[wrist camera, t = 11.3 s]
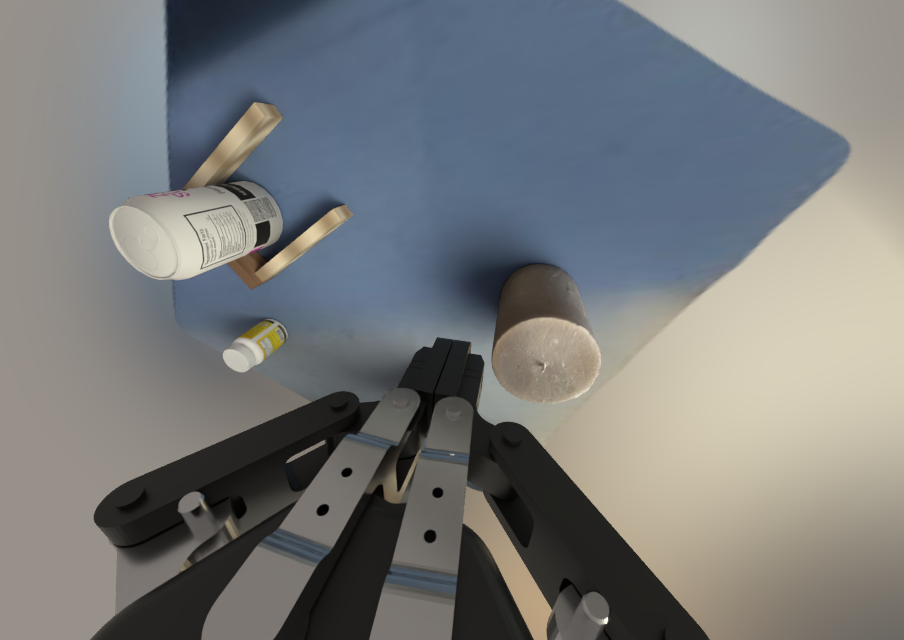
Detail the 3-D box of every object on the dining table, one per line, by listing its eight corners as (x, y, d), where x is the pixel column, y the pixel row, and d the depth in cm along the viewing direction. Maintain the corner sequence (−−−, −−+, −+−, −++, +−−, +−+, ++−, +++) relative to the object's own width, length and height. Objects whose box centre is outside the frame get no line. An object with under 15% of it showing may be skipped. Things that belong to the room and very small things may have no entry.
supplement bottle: (257, 330, 53) (215, 360, 46) (267, 312, 51) (224, 340, 44) (282, 348, 54) (245, 380, 47) (293, 330, 52) (255, 361, 45)
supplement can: (267, 256, 46) (167, 300, 33) (219, 209, 44) (92, 237, 31) (297, 218, 43) (197, 252, 30) (246, 165, 40) (115, 177, 28)
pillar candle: (486, 309, 43) (469, 383, 30) (527, 247, 38) (529, 303, 25) (548, 344, 44) (558, 430, 31) (597, 288, 39) (632, 362, 26)
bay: (273, 104, 36) (247, 101, 33) (353, 215, 41) (336, 222, 37) (196, 193, 44) (168, 197, 40) (270, 279, 48) (251, 289, 45)
